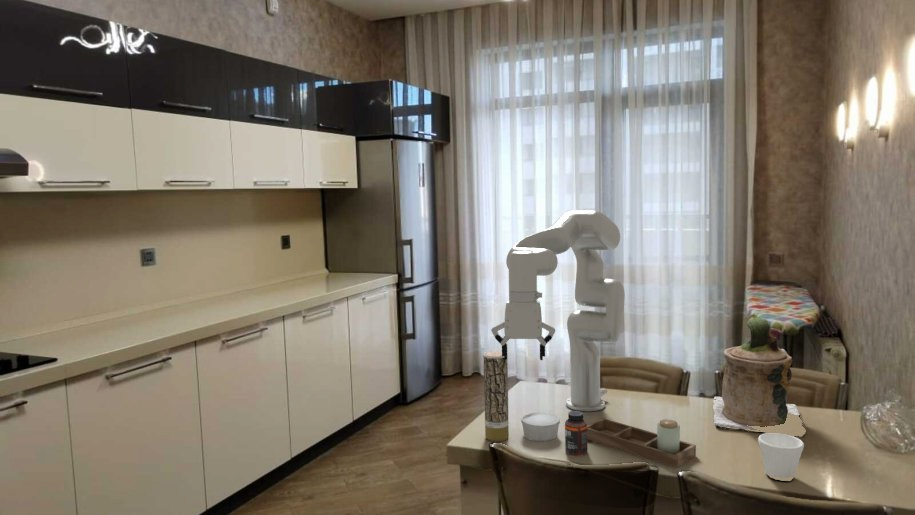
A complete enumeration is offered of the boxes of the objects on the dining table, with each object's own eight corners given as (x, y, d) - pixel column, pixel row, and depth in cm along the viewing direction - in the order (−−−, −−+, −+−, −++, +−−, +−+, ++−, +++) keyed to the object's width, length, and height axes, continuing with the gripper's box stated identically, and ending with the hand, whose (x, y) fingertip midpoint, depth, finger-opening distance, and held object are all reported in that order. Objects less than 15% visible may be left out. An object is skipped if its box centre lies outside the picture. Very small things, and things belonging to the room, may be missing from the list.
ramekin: (529, 426, 194) (529, 409, 193) (565, 432, 189) (565, 414, 188) (515, 439, 184) (515, 422, 184) (552, 446, 179) (552, 428, 178)
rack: (603, 430, 190) (603, 418, 189) (695, 458, 169) (695, 445, 168) (582, 439, 183) (582, 427, 182) (676, 470, 162) (676, 456, 161)
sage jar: (664, 450, 173) (664, 417, 172) (683, 456, 169) (683, 422, 168) (653, 456, 169) (653, 422, 168) (672, 462, 165) (673, 428, 164)
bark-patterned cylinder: (507, 443, 182) (505, 357, 179) (483, 441, 183) (481, 356, 180) (510, 434, 188) (508, 350, 186) (487, 432, 190) (485, 350, 187)
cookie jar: (712, 429, 188) (714, 322, 185) (712, 402, 211) (714, 307, 208) (807, 439, 179) (811, 327, 176) (796, 410, 202) (800, 310, 198)
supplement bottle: (588, 450, 175) (588, 410, 174) (585, 459, 170) (585, 417, 169) (567, 447, 177) (566, 408, 176) (563, 456, 172) (563, 415, 170)
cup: (766, 464, 164) (767, 429, 163) (809, 476, 157) (810, 439, 156) (750, 477, 157) (751, 440, 156) (793, 490, 150) (795, 452, 149)
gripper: (554, 294, 176) (554, 355, 177) (491, 294, 178) (492, 355, 179) (555, 299, 168) (556, 362, 170) (490, 299, 170) (491, 362, 172)
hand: (523, 358), depth 175 cm, fingers open, 9 cm apart
